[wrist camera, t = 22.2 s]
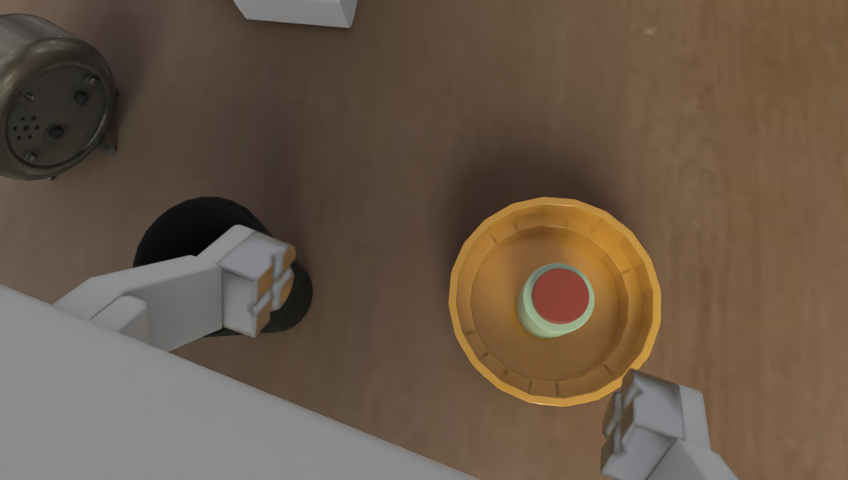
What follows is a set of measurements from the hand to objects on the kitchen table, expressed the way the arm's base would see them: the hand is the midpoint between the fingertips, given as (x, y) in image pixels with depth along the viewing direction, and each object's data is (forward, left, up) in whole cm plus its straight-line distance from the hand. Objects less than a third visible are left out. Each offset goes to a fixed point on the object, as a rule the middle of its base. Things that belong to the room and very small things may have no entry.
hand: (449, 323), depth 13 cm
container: (+4, -5, -27) cm, 28 cm away
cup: (+3, +14, -28) cm, 31 cm away
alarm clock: (+14, +31, -28) cm, 44 cm away
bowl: (+4, -5, -27) cm, 28 cm away
